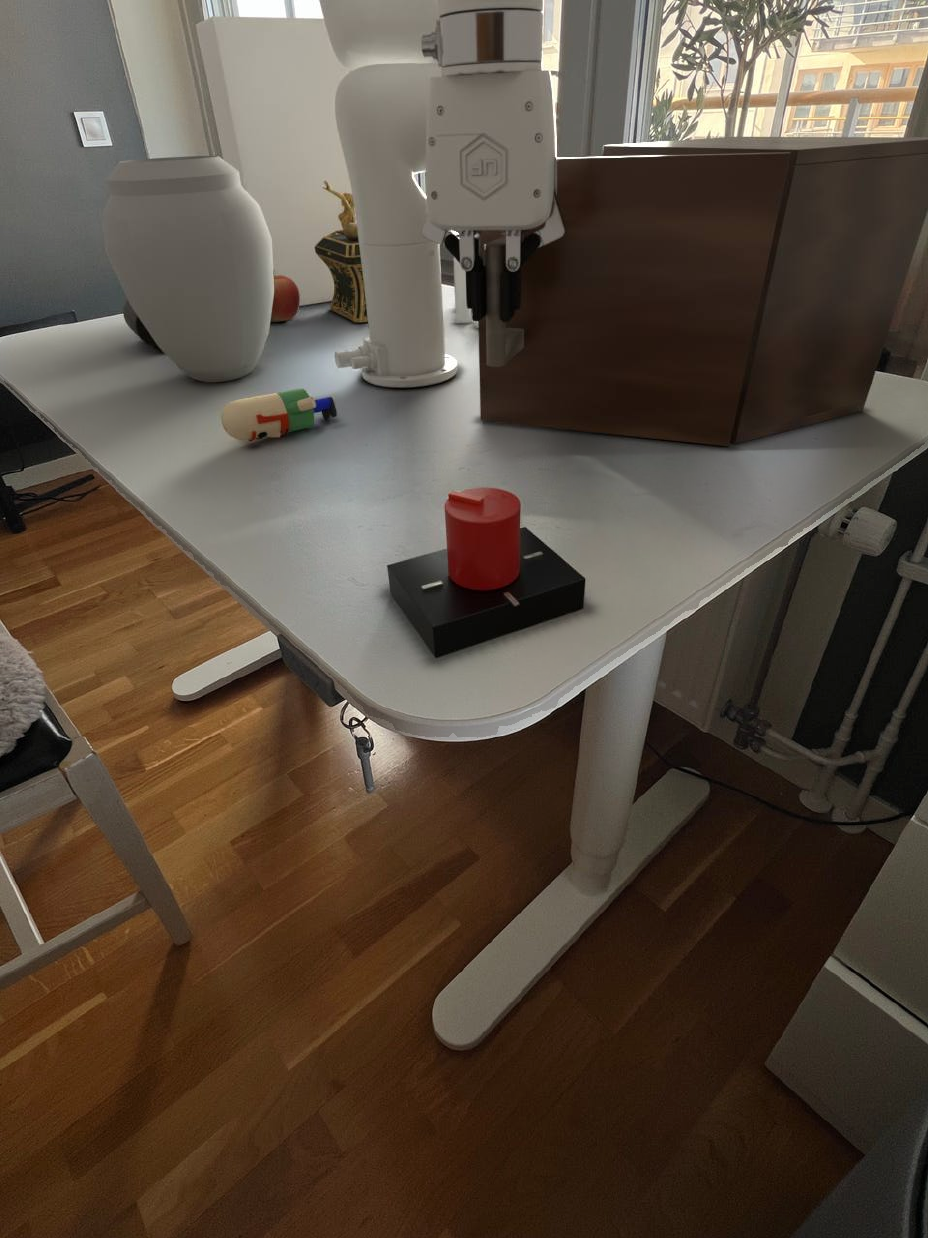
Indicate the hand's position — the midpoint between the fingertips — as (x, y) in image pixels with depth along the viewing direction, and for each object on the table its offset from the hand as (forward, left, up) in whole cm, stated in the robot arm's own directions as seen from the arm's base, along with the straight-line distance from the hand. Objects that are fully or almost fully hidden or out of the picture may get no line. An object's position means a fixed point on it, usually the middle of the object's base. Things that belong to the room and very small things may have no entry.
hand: (493, 316), depth 60 cm
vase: (-20, +42, -13) cm, 48 cm away
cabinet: (+30, +2, -13) cm, 33 cm away
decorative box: (+8, +63, -13) cm, 65 cm away
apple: (-6, +68, -13) cm, 69 cm away
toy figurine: (-18, +16, -13) cm, 27 cm away
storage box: (+4, +83, -13) cm, 84 cm away
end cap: (-26, +63, -13) cm, 69 cm away
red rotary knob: (-13, -23, -10) cm, 28 cm away
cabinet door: (+9, -4, -12) cm, 16 cm away
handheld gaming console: (+23, +55, -13) cm, 61 cm away
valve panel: (-13, -23, -13) cm, 29 cm away
